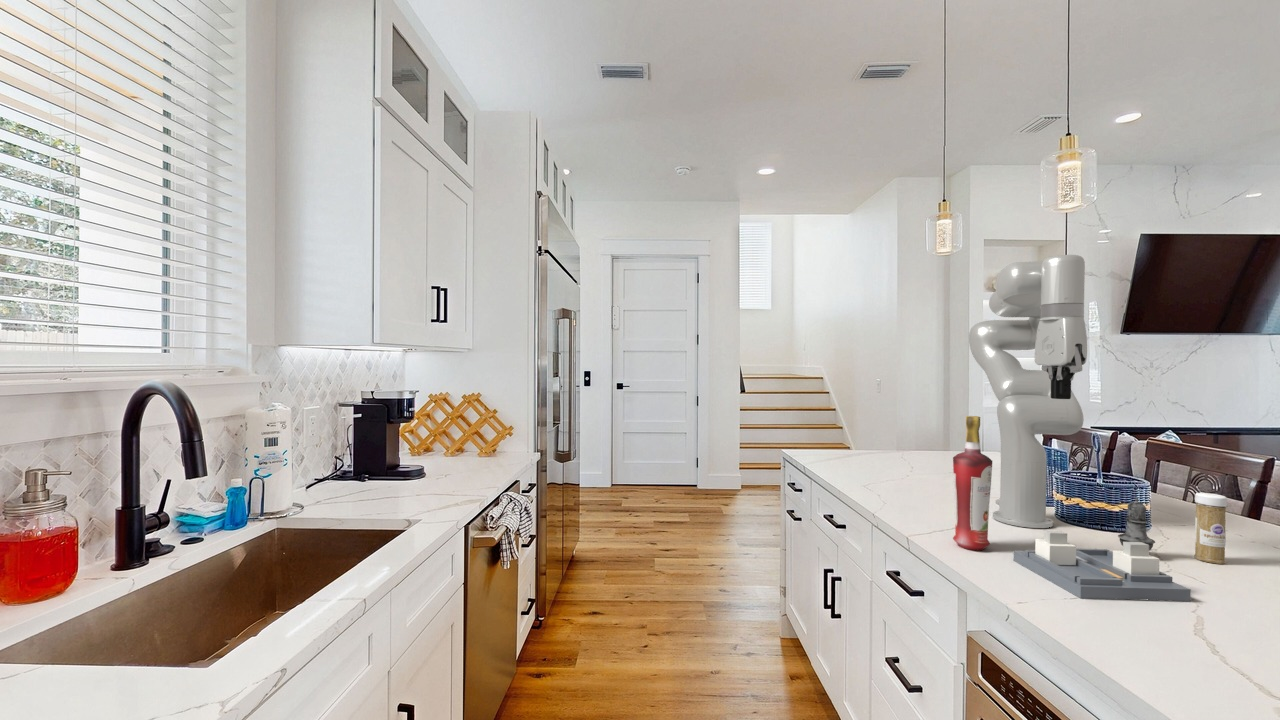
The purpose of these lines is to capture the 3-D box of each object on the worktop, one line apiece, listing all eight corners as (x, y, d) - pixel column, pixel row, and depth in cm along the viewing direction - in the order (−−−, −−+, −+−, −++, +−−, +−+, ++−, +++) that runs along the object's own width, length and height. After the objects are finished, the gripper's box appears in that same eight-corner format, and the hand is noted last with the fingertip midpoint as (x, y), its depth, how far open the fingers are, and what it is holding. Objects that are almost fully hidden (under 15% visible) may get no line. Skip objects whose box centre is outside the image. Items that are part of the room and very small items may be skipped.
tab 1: (1035, 557, 110) (1035, 528, 110) (1060, 557, 109) (1061, 529, 109) (1049, 564, 106) (1049, 534, 106) (1075, 565, 105) (1076, 535, 105)
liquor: (965, 539, 127) (966, 414, 127) (998, 549, 120) (1000, 417, 120) (944, 544, 123) (946, 415, 123) (977, 554, 117) (979, 418, 117)
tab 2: (1112, 569, 103) (1113, 539, 103) (1139, 570, 103) (1140, 540, 103) (1131, 578, 99) (1131, 546, 99) (1159, 578, 99) (1159, 547, 99)
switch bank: (1013, 560, 114) (1013, 545, 114) (1105, 562, 113) (1105, 547, 113) (1080, 598, 96) (1080, 580, 96) (1190, 601, 95) (1190, 583, 95)
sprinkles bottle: (1210, 564, 113) (1211, 497, 113) (1187, 556, 118) (1188, 491, 118) (1232, 564, 113) (1233, 497, 113) (1208, 556, 118) (1209, 492, 118)
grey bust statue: (1162, 561, 114) (1163, 502, 114) (1128, 559, 115) (1129, 500, 115) (1142, 552, 120) (1143, 495, 120) (1110, 549, 121) (1111, 493, 121)
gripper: (1021, 316, 130) (1020, 396, 130) (1069, 310, 115) (1067, 401, 115) (1055, 316, 129) (1054, 396, 129) (1107, 310, 115) (1105, 401, 115)
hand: (1060, 398), depth 122 cm, fingers closed
